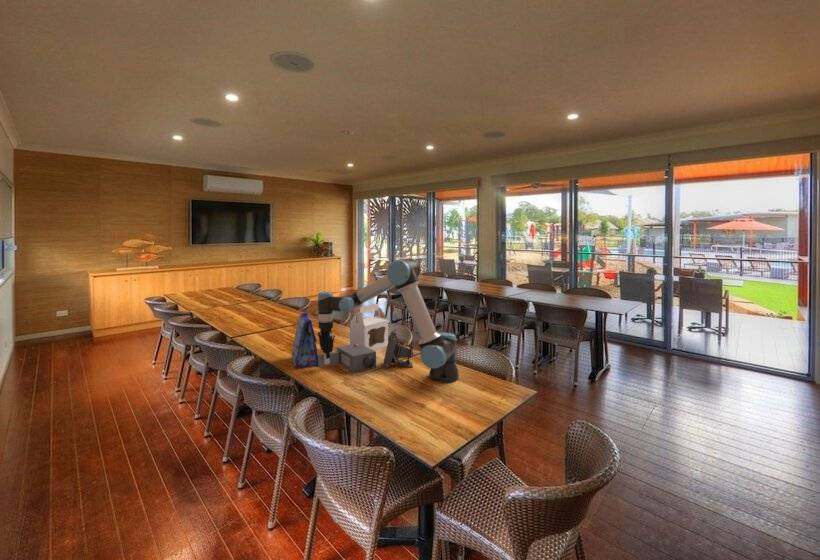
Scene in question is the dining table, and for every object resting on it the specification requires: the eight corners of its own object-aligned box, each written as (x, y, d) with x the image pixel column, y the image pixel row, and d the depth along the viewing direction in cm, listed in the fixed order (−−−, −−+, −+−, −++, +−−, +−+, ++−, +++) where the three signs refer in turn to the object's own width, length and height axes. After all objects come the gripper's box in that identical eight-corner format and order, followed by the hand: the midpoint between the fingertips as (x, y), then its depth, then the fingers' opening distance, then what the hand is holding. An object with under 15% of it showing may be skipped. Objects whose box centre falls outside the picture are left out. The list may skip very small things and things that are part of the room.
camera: (410, 375, 212) (420, 340, 210) (381, 367, 211) (390, 332, 209) (410, 368, 223) (419, 335, 221) (382, 360, 222) (391, 327, 220)
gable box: (373, 342, 262) (373, 301, 259) (388, 345, 254) (388, 303, 251) (349, 349, 245) (349, 306, 242) (364, 353, 237) (364, 308, 234)
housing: (378, 368, 211) (377, 351, 210) (354, 373, 203) (354, 355, 202) (359, 358, 229) (358, 341, 228) (336, 362, 221) (336, 345, 220)
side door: (318, 367, 209) (318, 355, 208) (317, 366, 211) (317, 354, 210) (340, 363, 216) (340, 351, 215) (339, 362, 217) (339, 350, 217)
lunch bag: (319, 366, 215) (318, 315, 211) (294, 369, 210) (292, 316, 206) (314, 354, 235) (313, 307, 231) (291, 357, 230) (289, 309, 226)
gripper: (338, 321, 205) (339, 364, 207) (324, 318, 214) (325, 359, 216) (326, 323, 199) (328, 368, 202) (312, 320, 208) (314, 362, 211)
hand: (326, 363), depth 209 cm, fingers closed
